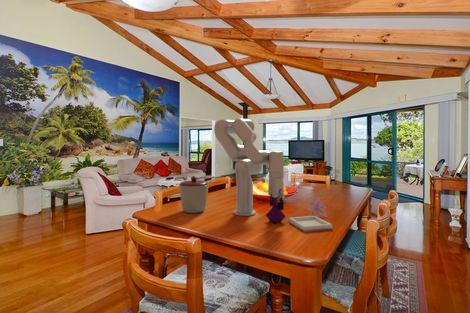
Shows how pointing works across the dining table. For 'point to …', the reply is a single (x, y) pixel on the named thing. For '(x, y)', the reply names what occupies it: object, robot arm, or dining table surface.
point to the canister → (193, 195)
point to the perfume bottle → (275, 212)
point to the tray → (310, 223)
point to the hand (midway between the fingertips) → (276, 207)
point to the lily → (317, 207)
